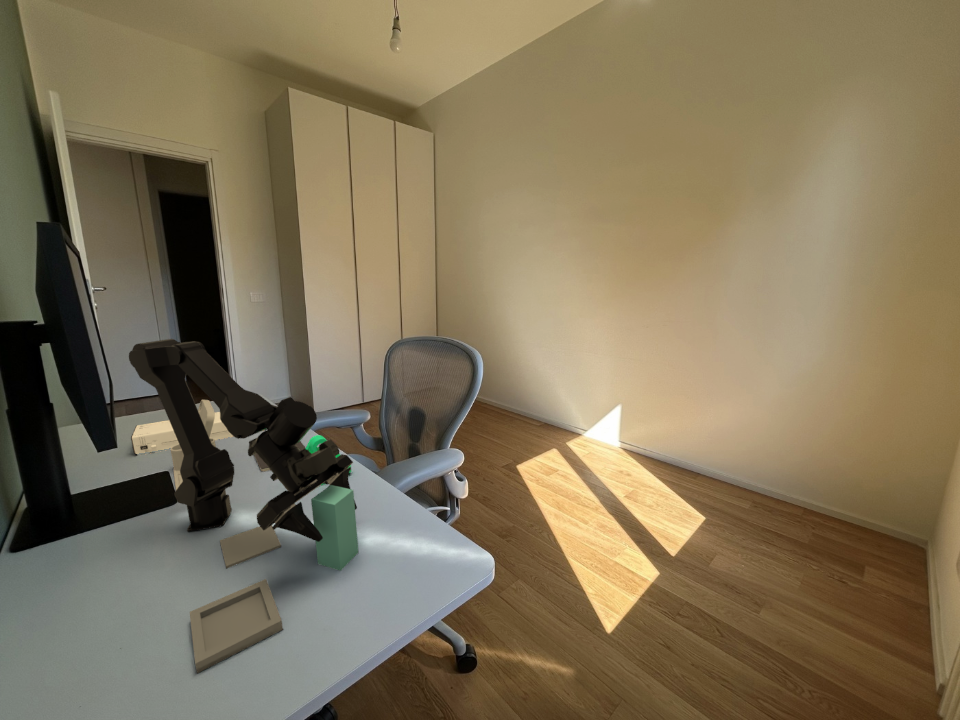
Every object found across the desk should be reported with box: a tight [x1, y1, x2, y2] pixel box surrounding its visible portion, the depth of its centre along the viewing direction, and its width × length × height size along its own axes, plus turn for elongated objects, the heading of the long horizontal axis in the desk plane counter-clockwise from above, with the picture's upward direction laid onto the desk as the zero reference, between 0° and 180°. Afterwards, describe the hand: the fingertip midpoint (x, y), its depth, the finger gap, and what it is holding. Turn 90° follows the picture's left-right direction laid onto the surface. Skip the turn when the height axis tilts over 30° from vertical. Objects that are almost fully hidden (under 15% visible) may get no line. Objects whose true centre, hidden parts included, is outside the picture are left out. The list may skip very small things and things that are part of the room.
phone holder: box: [170, 399, 217, 491], centre depth 102 cm, size 17×10×18 cm, turn 39°
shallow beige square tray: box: [189, 578, 284, 674], centre depth 59 cm, size 10×10×2 cm
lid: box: [219, 525, 282, 569], centre depth 77 cm, size 9×9×1 cm
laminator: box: [130, 411, 267, 455], centre depth 126 cm, size 34×12×6 cm, turn 124°
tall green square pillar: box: [310, 485, 359, 572], centre depth 72 cm, size 5×5×13 cm
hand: (339, 524), depth 71 cm, fingers open, 9 cm apart
